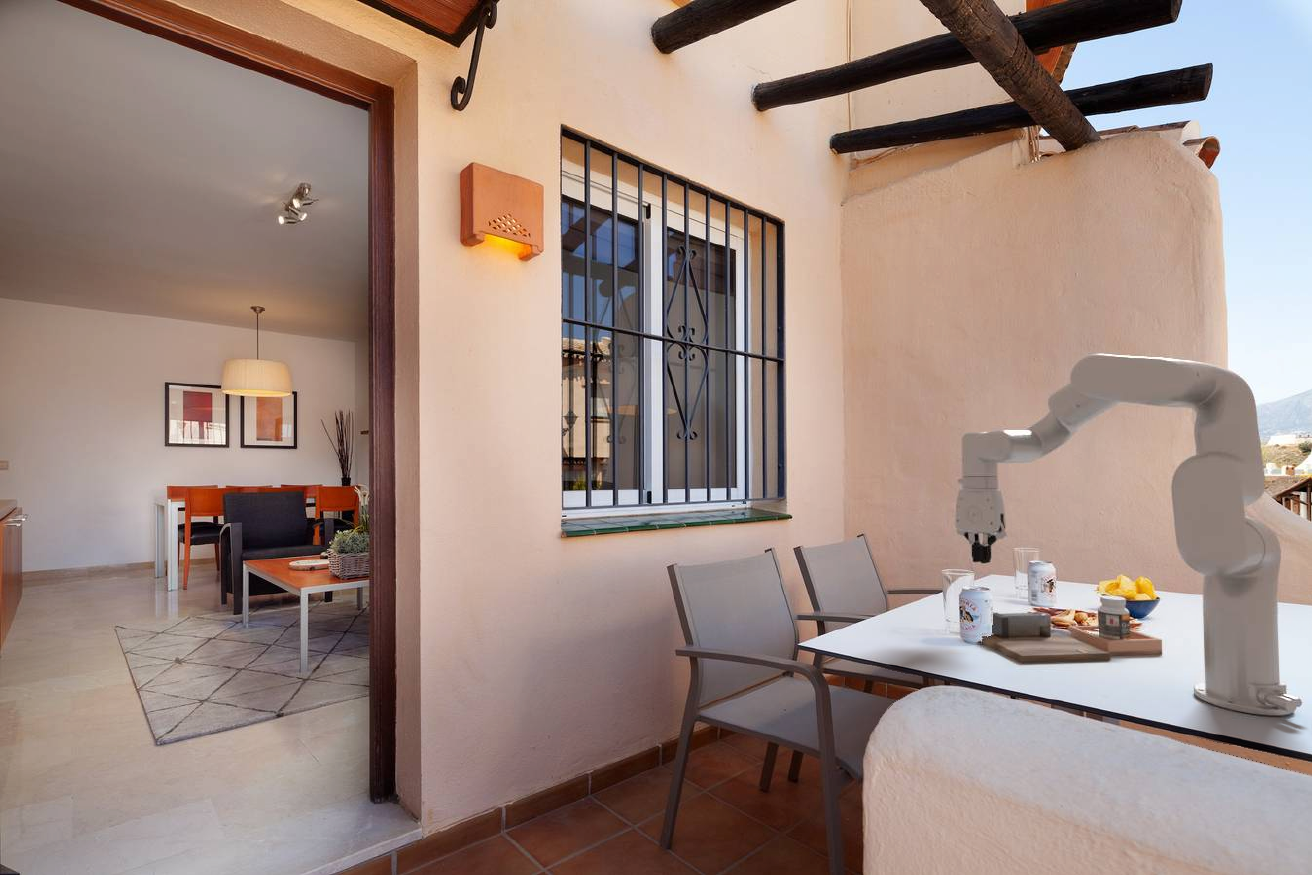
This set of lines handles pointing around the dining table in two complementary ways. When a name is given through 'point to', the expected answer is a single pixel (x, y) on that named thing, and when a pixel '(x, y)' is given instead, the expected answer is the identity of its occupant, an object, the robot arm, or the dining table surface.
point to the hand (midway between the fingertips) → (981, 561)
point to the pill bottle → (1113, 618)
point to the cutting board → (1045, 648)
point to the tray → (1118, 642)
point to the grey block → (1021, 624)
